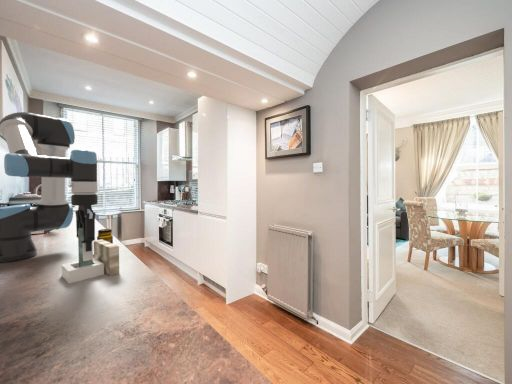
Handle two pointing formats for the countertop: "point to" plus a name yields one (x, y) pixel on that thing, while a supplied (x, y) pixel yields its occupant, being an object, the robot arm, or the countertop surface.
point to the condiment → (105, 235)
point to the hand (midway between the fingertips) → (85, 258)
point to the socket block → (82, 271)
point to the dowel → (80, 248)
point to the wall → (107, 256)
